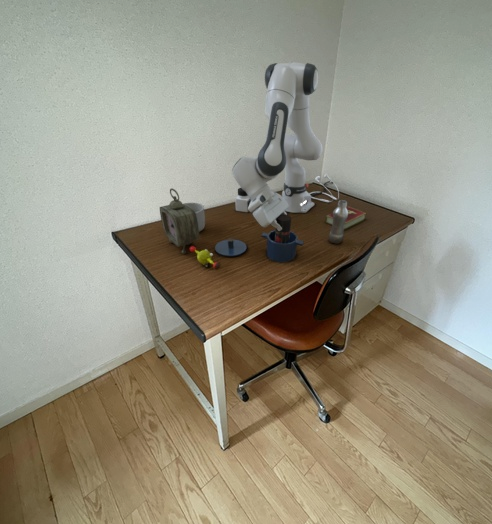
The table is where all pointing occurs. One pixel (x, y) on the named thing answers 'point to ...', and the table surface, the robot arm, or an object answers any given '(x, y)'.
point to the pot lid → (230, 247)
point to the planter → (198, 214)
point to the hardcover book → (349, 217)
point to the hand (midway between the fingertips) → (284, 226)
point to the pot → (281, 247)
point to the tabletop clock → (179, 222)
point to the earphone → (326, 188)
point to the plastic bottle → (338, 222)
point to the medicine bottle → (242, 201)
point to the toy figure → (204, 257)
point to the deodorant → (283, 234)
